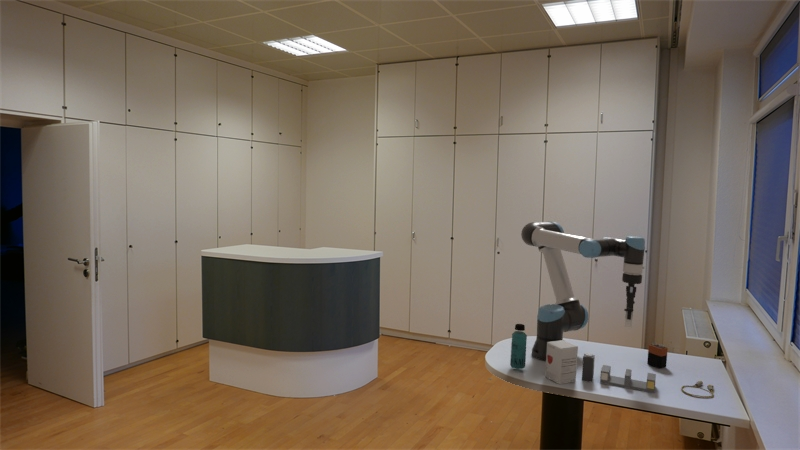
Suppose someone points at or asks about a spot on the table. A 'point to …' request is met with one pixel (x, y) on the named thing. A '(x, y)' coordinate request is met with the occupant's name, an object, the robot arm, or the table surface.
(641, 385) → the grey three-post rail
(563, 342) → the supplement box
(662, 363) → the battery
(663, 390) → the table surface
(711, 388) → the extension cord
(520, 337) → the beverage bottle
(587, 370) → the plug
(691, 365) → the table surface
